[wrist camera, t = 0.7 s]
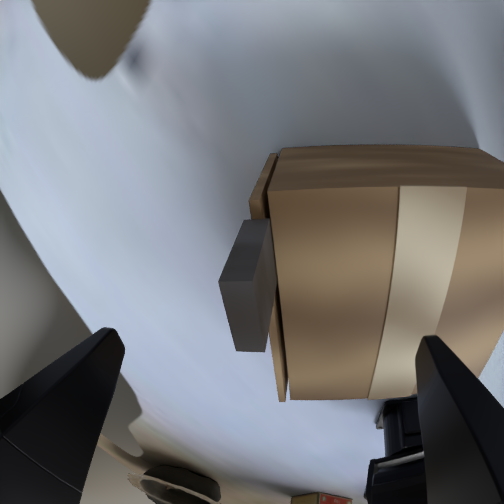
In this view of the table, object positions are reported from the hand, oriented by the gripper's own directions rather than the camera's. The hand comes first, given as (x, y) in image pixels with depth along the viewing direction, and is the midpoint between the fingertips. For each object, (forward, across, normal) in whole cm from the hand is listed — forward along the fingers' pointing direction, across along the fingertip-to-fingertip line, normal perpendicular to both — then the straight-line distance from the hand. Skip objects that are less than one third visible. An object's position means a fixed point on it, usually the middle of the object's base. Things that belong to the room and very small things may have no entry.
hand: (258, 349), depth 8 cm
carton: (+13, -6, +5) cm, 15 cm away
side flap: (+13, +1, +5) cm, 14 cm away
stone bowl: (+13, +26, +65) cm, 72 cm away
